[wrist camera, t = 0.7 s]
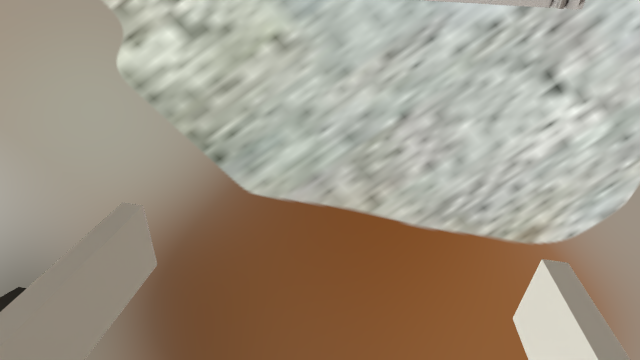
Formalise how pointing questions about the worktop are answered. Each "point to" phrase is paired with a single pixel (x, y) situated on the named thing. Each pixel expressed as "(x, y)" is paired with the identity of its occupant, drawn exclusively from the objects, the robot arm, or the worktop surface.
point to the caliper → (528, 3)
